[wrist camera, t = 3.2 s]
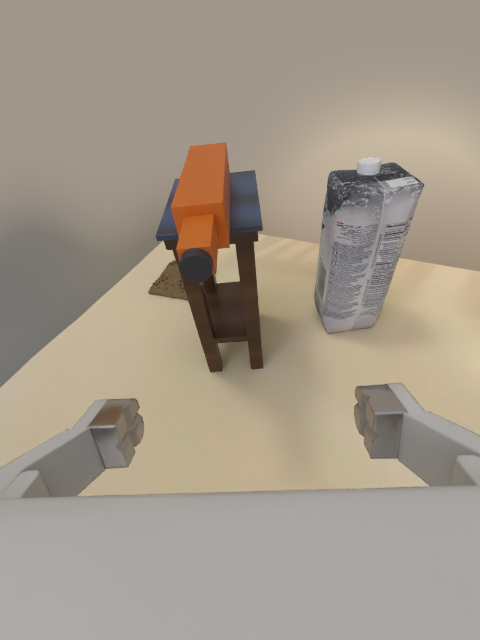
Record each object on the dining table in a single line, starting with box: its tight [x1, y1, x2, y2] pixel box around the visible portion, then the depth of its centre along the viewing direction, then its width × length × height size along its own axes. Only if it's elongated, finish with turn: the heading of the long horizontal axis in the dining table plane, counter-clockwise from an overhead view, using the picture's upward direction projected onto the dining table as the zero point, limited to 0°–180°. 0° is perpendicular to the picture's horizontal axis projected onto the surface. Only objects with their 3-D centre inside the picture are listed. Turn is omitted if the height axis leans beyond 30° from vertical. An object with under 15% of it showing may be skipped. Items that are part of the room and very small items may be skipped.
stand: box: [156, 170, 263, 372], centre depth 45 cm, size 15×11×27 cm
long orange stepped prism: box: [171, 143, 230, 283], centre depth 29 cm, size 22×4×4 cm, turn 1°
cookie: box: [148, 261, 204, 300], centre depth 68 cm, size 12×12×1 cm
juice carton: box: [314, 157, 424, 333], centre depth 46 cm, size 9×10×27 cm
